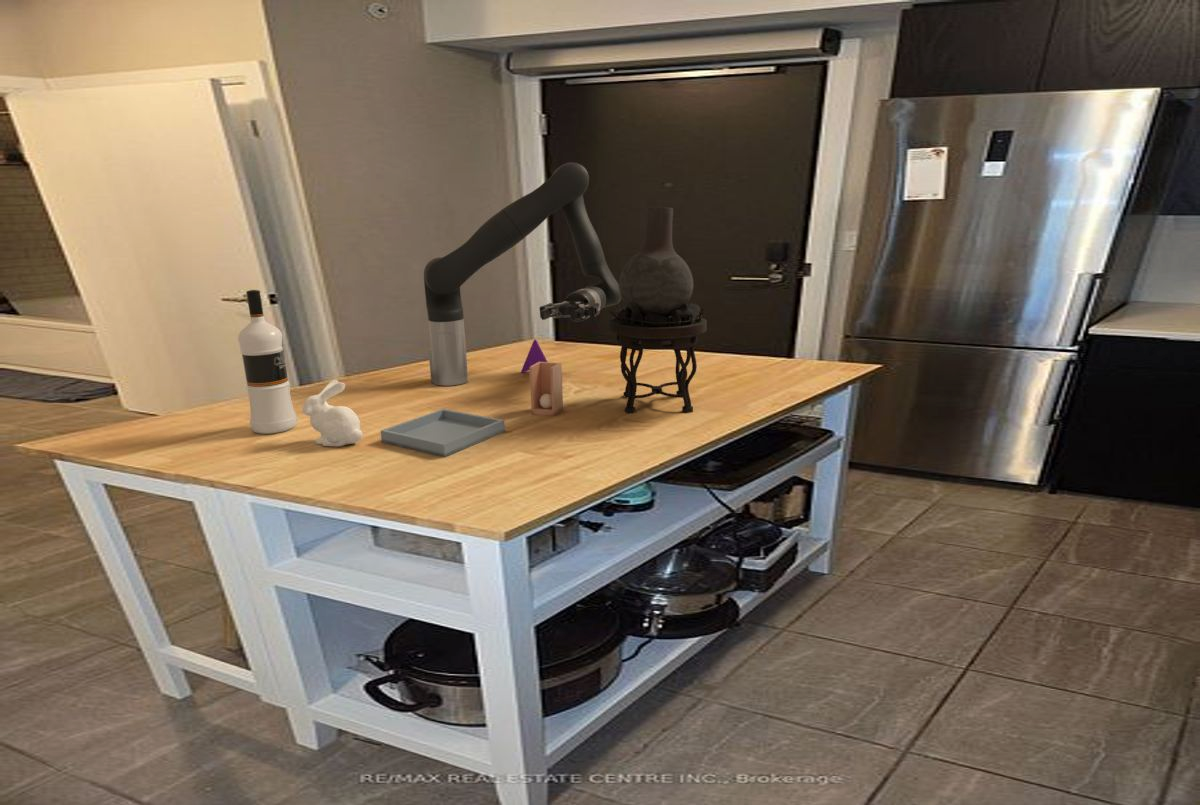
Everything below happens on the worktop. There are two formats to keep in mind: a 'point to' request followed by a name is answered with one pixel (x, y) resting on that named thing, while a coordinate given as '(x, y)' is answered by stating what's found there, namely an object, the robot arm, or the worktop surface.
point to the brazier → (657, 308)
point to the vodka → (265, 372)
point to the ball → (546, 401)
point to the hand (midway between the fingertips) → (559, 315)
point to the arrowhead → (533, 356)
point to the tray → (443, 432)
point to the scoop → (546, 387)
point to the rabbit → (332, 418)
